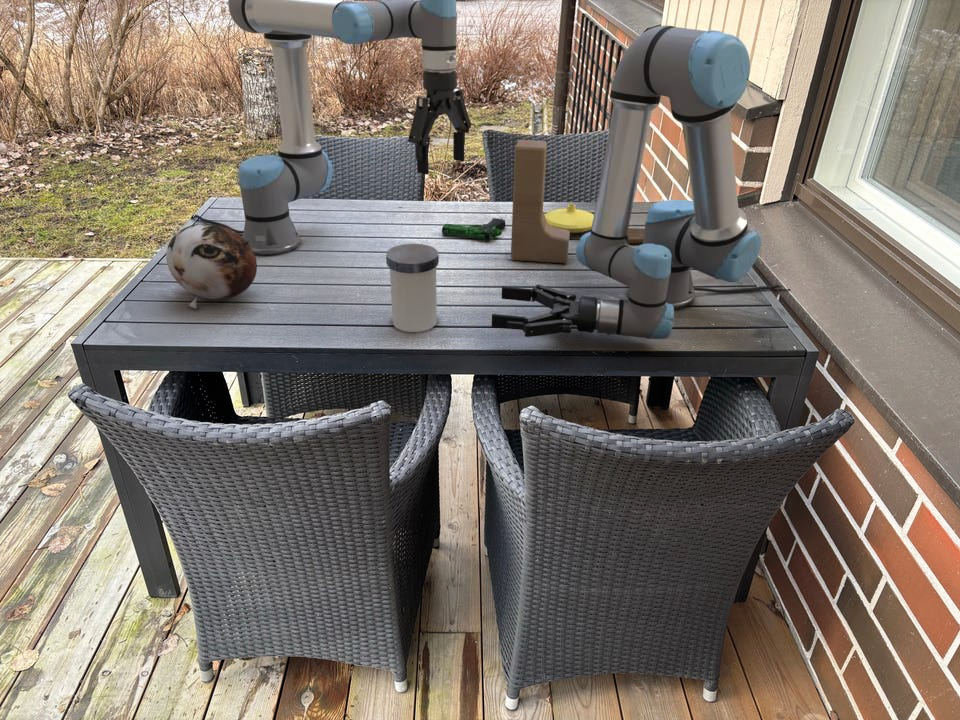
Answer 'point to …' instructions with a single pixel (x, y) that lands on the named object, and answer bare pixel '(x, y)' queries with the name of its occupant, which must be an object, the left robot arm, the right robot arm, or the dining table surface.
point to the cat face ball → (211, 261)
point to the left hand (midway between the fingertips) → (441, 166)
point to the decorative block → (533, 209)
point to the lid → (412, 258)
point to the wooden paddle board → (635, 235)
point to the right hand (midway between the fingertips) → (496, 306)
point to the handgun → (476, 230)
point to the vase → (570, 219)
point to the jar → (414, 300)
